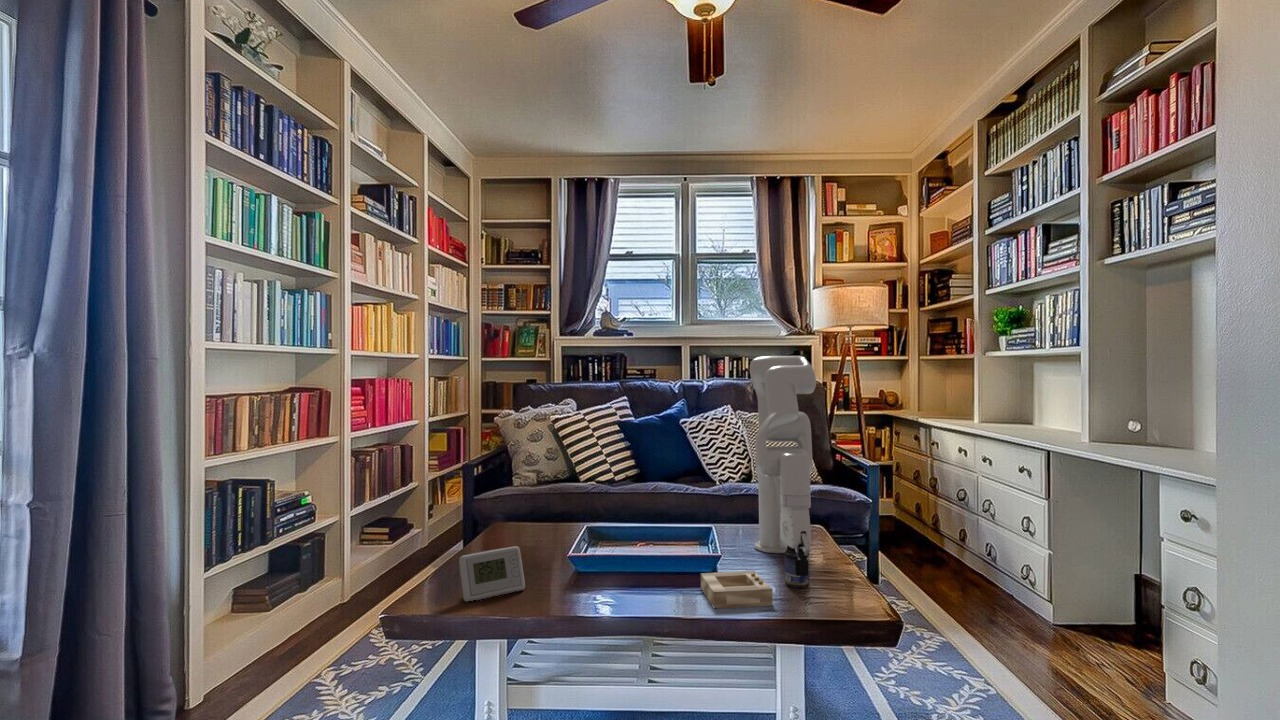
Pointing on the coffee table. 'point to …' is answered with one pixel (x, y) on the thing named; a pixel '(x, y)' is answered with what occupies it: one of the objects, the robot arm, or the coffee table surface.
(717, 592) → the socket block
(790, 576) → the pill bottle
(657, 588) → the coffee table surface
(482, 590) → the digital clock
